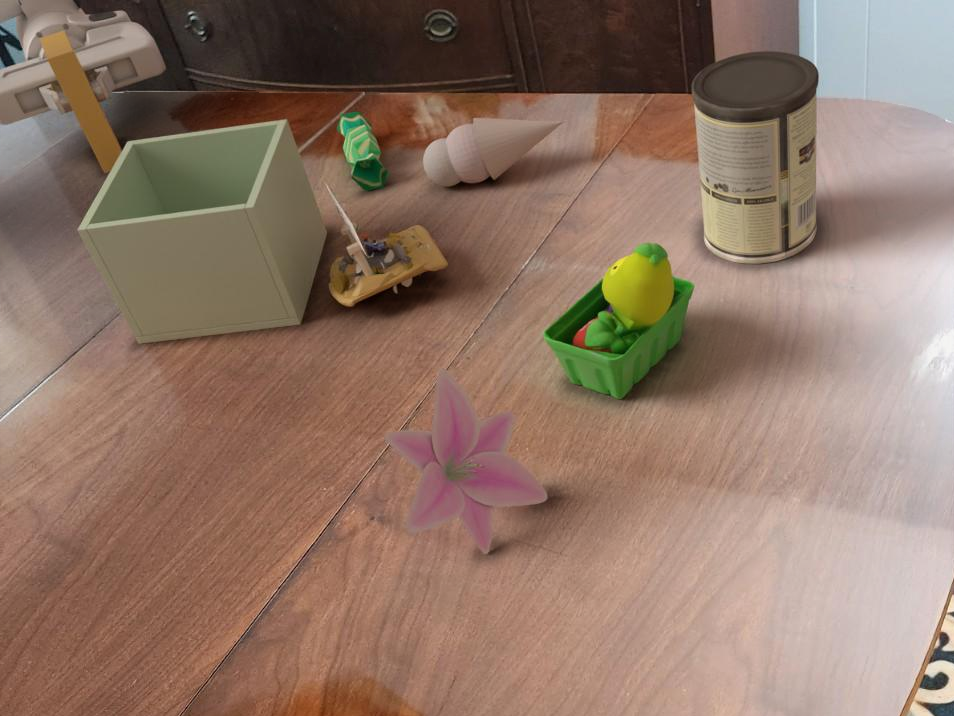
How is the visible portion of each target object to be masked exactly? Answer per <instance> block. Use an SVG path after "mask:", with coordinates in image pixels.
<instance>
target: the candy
mask: <svg viewBox="0 0 954 716" xmlns="http://www.w3.org/2000/svg"><path fill="white" fill-rule="evenodd" d="M336 130H337V132H339V134H340V135H341V136H343V138H345V139H344V141H343V145H342V150H343V152H344V155H345V159H346V162H347V164H348V166H350V167H351V168H352V169H351V179H352V180H353V181H354V182H355V183H356V184H357V185H358V186H359V187H360V188H361V189H362V190H363V191H364V192H367V191H372V190H378V189H382V188H384V187H385V184H386V181H387V178H388V175H389V171H388V169H387V168H386V167H385V165H383V164H382V162H381V160H380V157H381V155H382V151H381V149H380V146H379V143H378V141H377V137H375V136H374V134H373V132H372V123H371V122H370V121H369V120H368V119H367V118H366V117H365V116H364V115H363V114H362V113H361V112H360V111H359V110H357V111H351V112H345V113H341V114H340V115H339V120H338V123H337V126H336Z"/></svg>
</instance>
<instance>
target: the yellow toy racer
mask: <svg viewBox="0 0 954 716" xmlns="http://www.w3.org/2000/svg"><path fill="white" fill-rule="evenodd" d="M323 182H324V184H325V187H326V189H327V191H328V193H329V195H330V198H331V199H332V201H333V203H334V206H335V208H336V211H337V213H338V214H339V217H341V219H342V221H343V222H344V223H343V225H342V227H341V229H340V233H341V235H343V236H344V235H347V236H348V239H349V240H350V243H351V244H349V245H347V246H346V251H347V252H345V253H344V255H343V256H341V257H340V256H337V257H336V259H335V260H334V261H333V263H332V264H331V265H330V271H329V277H330V282H328V290H329V292H330V295H331V296H332V297H333V298H334V299H335V300H336V301H337V302H338V303H339V304H341V305H342V306H345V307H351V308H352V307H354V306H355V305H356V304H357V303H359V302H361V301H364V300H366V299H368V298H370V297H372V296H374V295H376V294H379V293H381V292H383V291H386V290H388V289H390V288H391V287H392V291H393V292H394V293H395V294H398V287H397V285H399V284H400V283H401V285H402V286H404V287H406V288H409V286H411V285H412V282H413V278H414V277H416V276H418V275H419V277H421V274H423V273H426V272H437V271H439V270H443V269H444V268H445V269H446V268H447V266H448V264H449V263H448V261H447V260H446V258H445V256H444V254H443V253H442V252H441V250H440V249H439V247H438V245H437V243H436V242H435V241H434V239H433V237H432V236H431V234H430V232H429V231H428V230H427V229H426V228H425V227H424V226H422V225H419V224H416V225H413V226H411V227H409V228H406V229H404V230H401V231H399V232H397V233H394V232H389V234H388V236H387V237H385V238H382V239H371V238H369V236H368V235H367V234H366V233H365V231H364V233H363V234H361V235H362V238H363V245H362V242H361V240H360V238H359V234H358V232H357V231H358V230H359V227H360V225H359V224H357V223H356V222H355V221H354V222H352V220H351V219H350V217H349V215H348V214H347V211H346V210H344V208H343V206H342V204H341V203H340V201H339V199H338V198H337V196H336V194H335V192H334V190H333V188H331V187H330V188H329V186H328V185H327V183H326V181H323ZM465 358H466V360H468V361H469V360H470V357H469V356H466V357H465Z"/></svg>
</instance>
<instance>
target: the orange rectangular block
mask: <svg viewBox="0 0 954 716" xmlns="http://www.w3.org/2000/svg"><path fill="white" fill-rule="evenodd" d="M40 42H41V44H42V47H43V49H44V52H45V55H46V57H47V60H48V62H49V64H50V66H51V68H52V70H53V72H54V74H55V76H56V78H57V80H58V82H59V84H60V86H61V88H62V90H63V92H64V94H65V96H66V98H67V100H68V102H69V104H70V106H71V108H72V110H73V111H72V112H73V113H74V115H75V118H76V119H77V121H78V124H79V126H80V128H81V129H82V131H83V133H84V136H85V137H86V139H87V141H88V143H89V145H90V148H91V149H92V151H93V153H94V155H95V157H96V159H97V162H98V164H99V165H100V167H101V169H102V171H103V173H104V174H109V173H110V171H111V170H112V168H113V166H114V164H115V163H116V161H117V159H118V157H119V156H120V154H121V152H122V150H123V149H122V147H121V145H120V142H119V141H118V138H117V137H116V134H115V133H114V130H113V128H112V126H111V124H110V122H109V120H108V117H107V116H106V113H105V111H104V109H103V108H102V105H101V102H98V100H97V98H96V96H95V94H94V92H93V90H92V88H91V86H90V83H89V80H88V78H87V76H86V74H85V72H84V70H83V68H82V66H81V64H80V62H79V60H78V58H77V56H76V54H75V51H74V49H73V47H72V45H71V43H70V41H69V39H68V37H67V35H66V33H65V31H61V32H57V33H54V34H51V35H48V36H45V37H42V38H40Z"/></svg>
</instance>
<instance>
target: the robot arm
mask: <svg viewBox="0 0 954 716" xmlns="http://www.w3.org/2000/svg"><path fill="white" fill-rule="evenodd" d="M82 4H83V0H0V24H2V23H5V22H7V21H10V20H12V19H14V18H15V22H16V23H15V25H16V31H17V32H16V33H17V37H18V42H19V43H20V46H21V49H22V52H23V57H24V59H25V61H21V62H19V63H16V64H13V65H12V64H11V65H9V66H6V67H4V68H0V125H1V126H7V125H11V124H15V123H16V122H20V121H23V120H26V119H29V118H32V117H35V116H38V115H41V114H45V113H47V112H50V111H59V113H60V114H61V115H64V114H67V113H70V112H73V110H72V108H71V106H70V104H69V102H68V100H67V98H66V96H65V94H64V92H63V90H62V88H61V86H60V84H59V82H58V80H57V78H56V76H55V74H54V72H53V70H52V68H51V66H50V64H49V62H48V60H47V57H46V55H45V52H44V49H43V47H42V44H41V42H40V38H42V37H45V36H48V35H51V34H54V33H57V32H61V31H65V33H66V35H67V37H68V39H69V41H70V43H71V45H72V47H73V49H74V51H75V54H76V56H77V58H78V60H79V62H80V64H81V66H82V68H83V70H84V72H85V74H86V76H87V78H88V80H89V83H90V86H91V88H92V90H93V92H94V94H95V96H96V98H97V100H98V102H99V103H102V102H104V101H108V100H111V96H110V94H111V93H112V92H113V91H115V90H117V89H120V88H124V87H126V86H129V85H133V84H136V83H139V82H142V81H145V80H148V79H151V78H154V77H157V76H160V75H162V74H163V73H164V72H166V70H167V67H166V64H165V62H164V59H163V56H162V54H161V52H160V49H159V47H158V45H157V42H156V40H155V39H154V37H153V36H152V35H151V34H150V32H149V31H148V30H147V29H146V28H145V27H144V26H142V25H141V24H140V23H138V22H135V21H134V22H133V21H132V20H131V18H130V17H129V15H128V13H127V12H126V11H124V10H115V11H107V12H100V13H92V14H86V12H84V10H83V9H82Z"/></svg>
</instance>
